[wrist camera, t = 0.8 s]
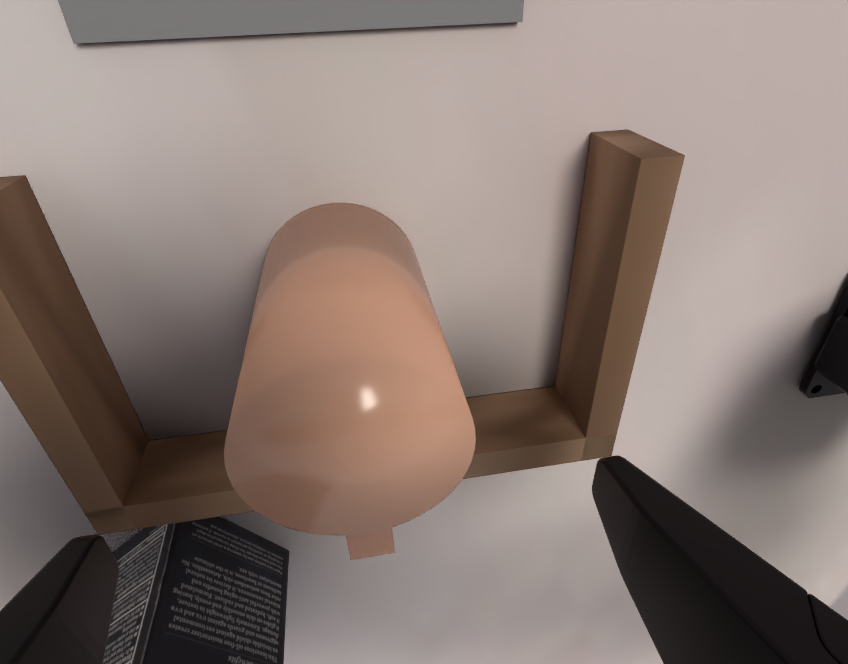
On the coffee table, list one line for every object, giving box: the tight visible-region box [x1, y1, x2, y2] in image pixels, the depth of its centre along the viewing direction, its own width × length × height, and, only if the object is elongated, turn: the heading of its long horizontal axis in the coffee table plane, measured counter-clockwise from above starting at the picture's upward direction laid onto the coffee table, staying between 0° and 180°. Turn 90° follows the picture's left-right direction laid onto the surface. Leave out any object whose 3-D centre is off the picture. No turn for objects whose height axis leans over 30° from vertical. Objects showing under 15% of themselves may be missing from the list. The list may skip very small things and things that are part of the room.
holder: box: [0, 130, 685, 535], centre depth 17 cm, size 18×11×3 cm, turn 92°
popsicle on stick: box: [224, 203, 476, 560], centre depth 14 cm, size 5×7×8 cm
